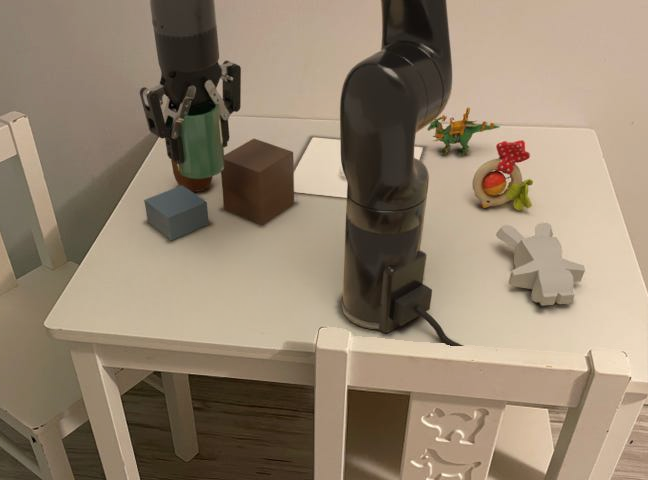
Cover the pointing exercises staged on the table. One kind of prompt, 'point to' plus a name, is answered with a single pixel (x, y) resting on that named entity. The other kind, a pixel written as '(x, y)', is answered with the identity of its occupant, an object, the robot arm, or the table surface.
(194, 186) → the wooden figurine
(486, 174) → the bird rattle
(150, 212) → the slate block
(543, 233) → the bunny figurine
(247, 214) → the walnut block
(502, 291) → the table surface
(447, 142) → the figurine
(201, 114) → the cup
